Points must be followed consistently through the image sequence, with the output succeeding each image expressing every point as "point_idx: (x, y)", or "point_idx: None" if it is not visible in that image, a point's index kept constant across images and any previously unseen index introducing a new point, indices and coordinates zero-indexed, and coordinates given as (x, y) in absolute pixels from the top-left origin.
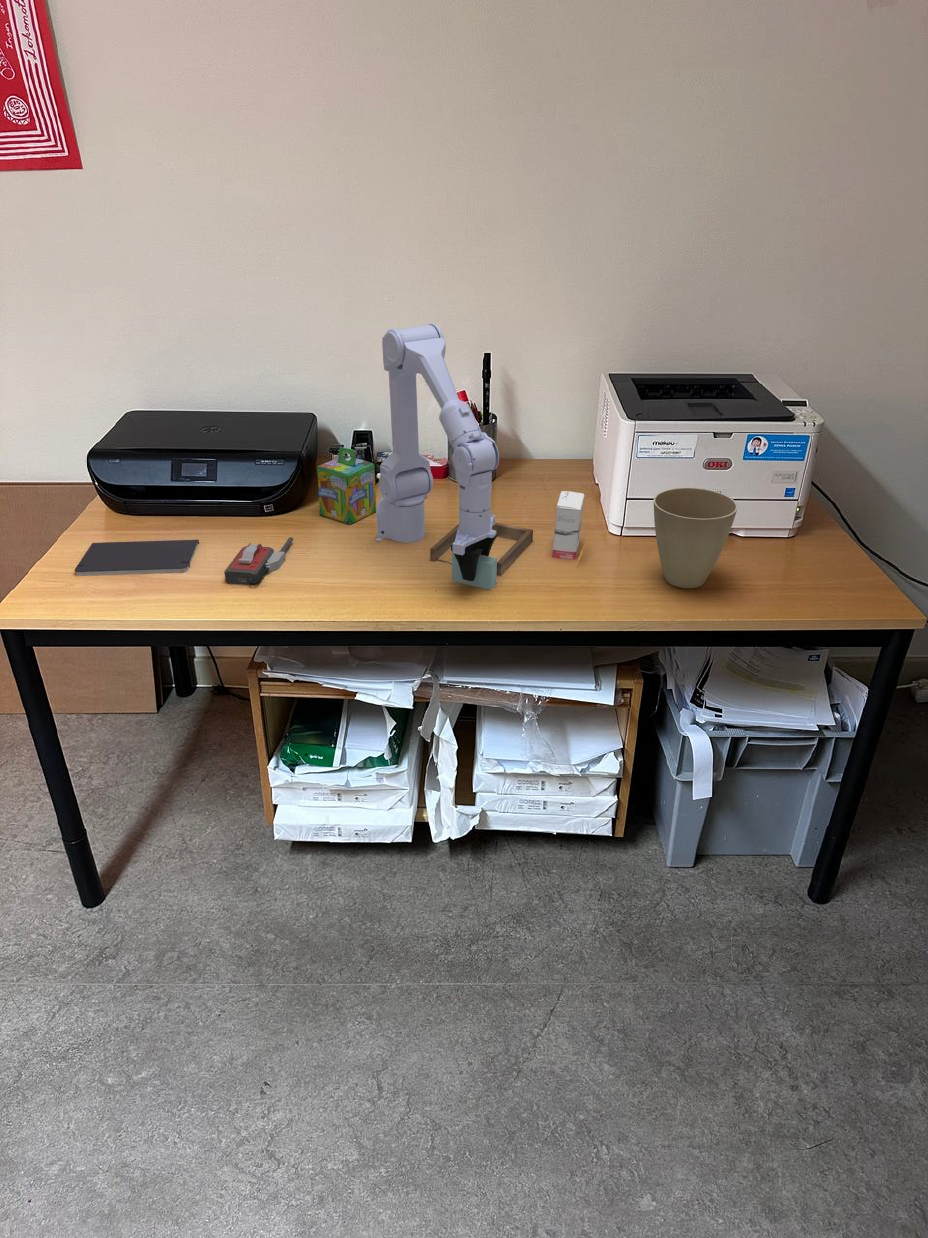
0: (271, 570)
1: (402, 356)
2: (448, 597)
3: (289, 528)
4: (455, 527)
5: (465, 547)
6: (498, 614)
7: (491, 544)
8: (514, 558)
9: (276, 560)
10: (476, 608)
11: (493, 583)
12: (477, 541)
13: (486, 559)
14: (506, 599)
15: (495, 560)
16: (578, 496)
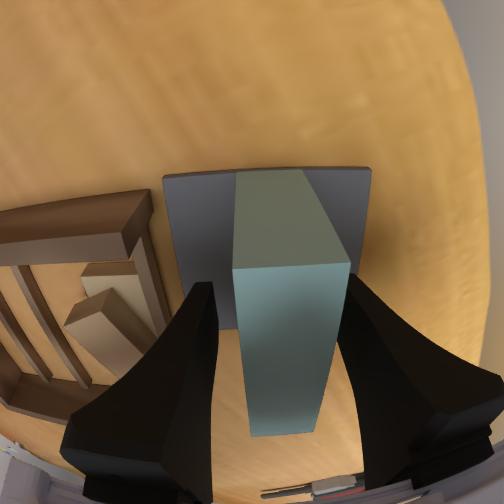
0: (348, 476)
1: None
2: (377, 292)
3: (226, 496)
4: (55, 421)
5: (487, 459)
6: (442, 78)
7: (150, 389)
8: (6, 222)
9: (340, 487)
10: (428, 176)
11: (278, 183)
12: (484, 489)
13: (293, 320)
14: (312, 81)
15: (265, 263)
16: None
